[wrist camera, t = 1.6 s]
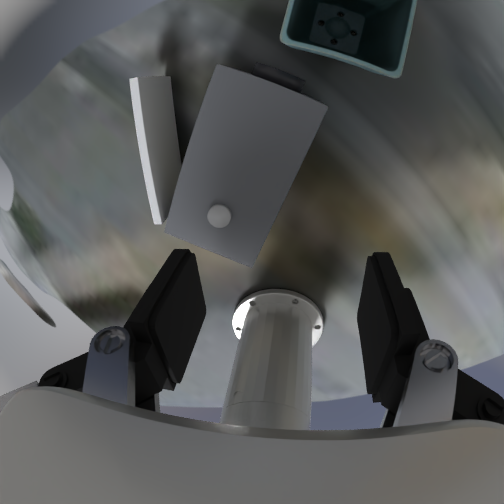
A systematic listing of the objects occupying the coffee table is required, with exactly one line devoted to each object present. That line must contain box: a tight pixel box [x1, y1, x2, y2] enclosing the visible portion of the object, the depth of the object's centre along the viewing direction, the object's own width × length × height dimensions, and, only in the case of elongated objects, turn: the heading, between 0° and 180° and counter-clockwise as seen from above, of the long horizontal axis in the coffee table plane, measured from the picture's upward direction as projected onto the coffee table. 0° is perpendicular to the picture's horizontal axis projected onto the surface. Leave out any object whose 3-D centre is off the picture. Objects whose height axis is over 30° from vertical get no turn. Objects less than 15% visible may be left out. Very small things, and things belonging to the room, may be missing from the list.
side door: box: [130, 76, 182, 224], centre depth 27 cm, size 14×2×7 cm, turn 4°
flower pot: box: [280, 0, 417, 78], centre depth 18 cm, size 9×9×9 cm
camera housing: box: [164, 62, 328, 268], centre depth 26 cm, size 17×9×8 cm, turn 159°
